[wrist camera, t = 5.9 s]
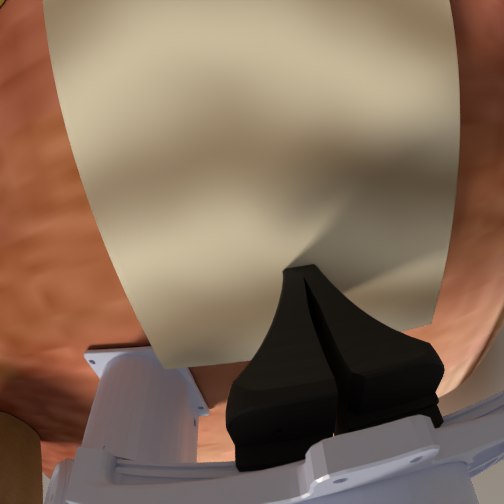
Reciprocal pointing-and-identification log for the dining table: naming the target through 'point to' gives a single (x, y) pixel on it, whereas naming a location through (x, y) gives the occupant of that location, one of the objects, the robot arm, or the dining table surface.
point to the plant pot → (19, 462)
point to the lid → (262, 156)
